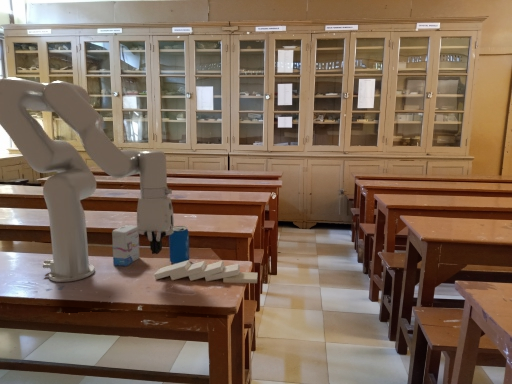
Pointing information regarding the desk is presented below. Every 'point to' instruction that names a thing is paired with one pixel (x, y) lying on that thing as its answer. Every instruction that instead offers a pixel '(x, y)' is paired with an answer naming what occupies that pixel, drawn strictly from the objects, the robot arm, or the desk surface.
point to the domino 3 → (208, 270)
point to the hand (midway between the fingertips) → (156, 252)
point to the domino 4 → (225, 272)
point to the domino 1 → (172, 269)
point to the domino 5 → (242, 278)
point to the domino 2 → (190, 270)
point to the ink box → (125, 245)
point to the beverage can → (179, 244)
